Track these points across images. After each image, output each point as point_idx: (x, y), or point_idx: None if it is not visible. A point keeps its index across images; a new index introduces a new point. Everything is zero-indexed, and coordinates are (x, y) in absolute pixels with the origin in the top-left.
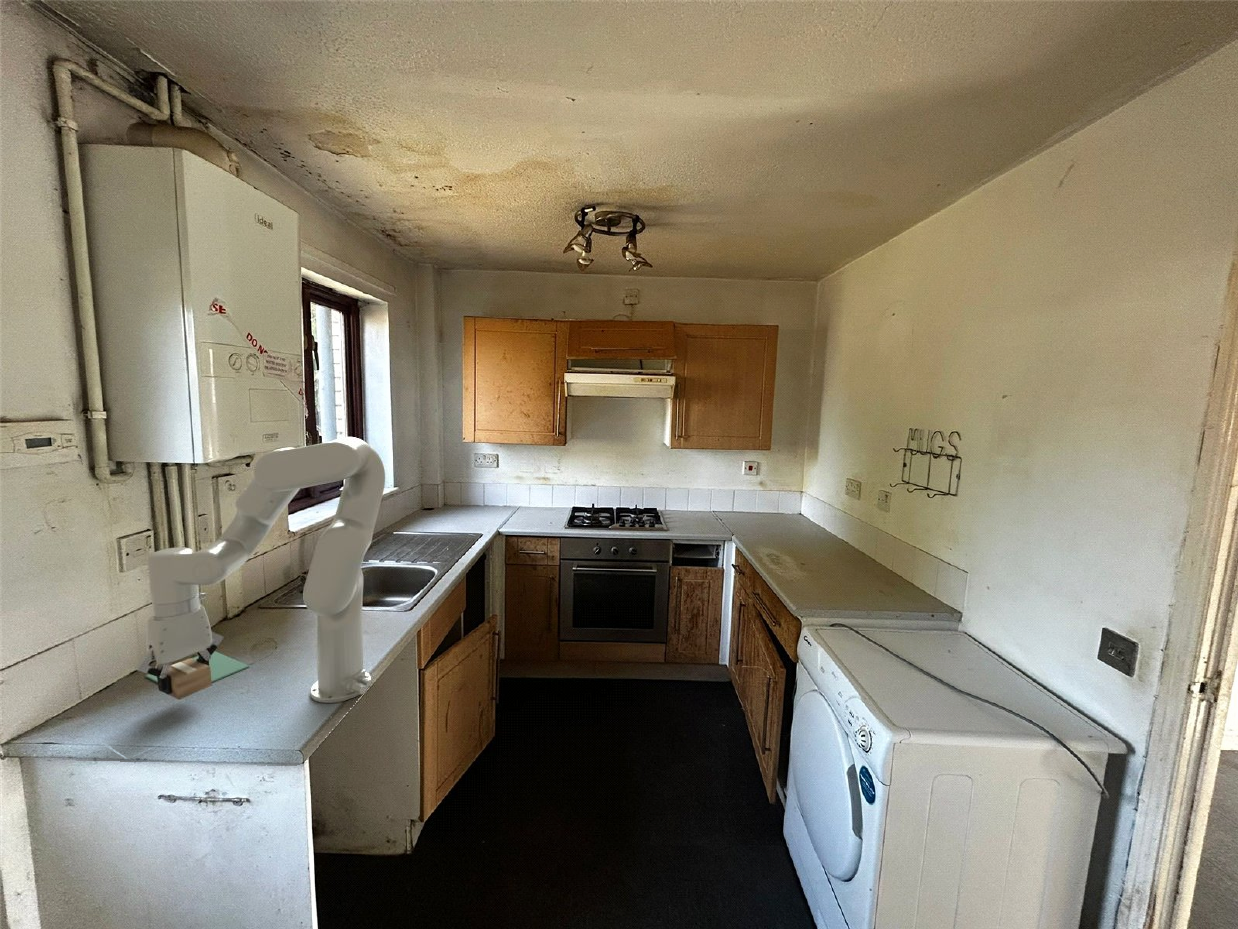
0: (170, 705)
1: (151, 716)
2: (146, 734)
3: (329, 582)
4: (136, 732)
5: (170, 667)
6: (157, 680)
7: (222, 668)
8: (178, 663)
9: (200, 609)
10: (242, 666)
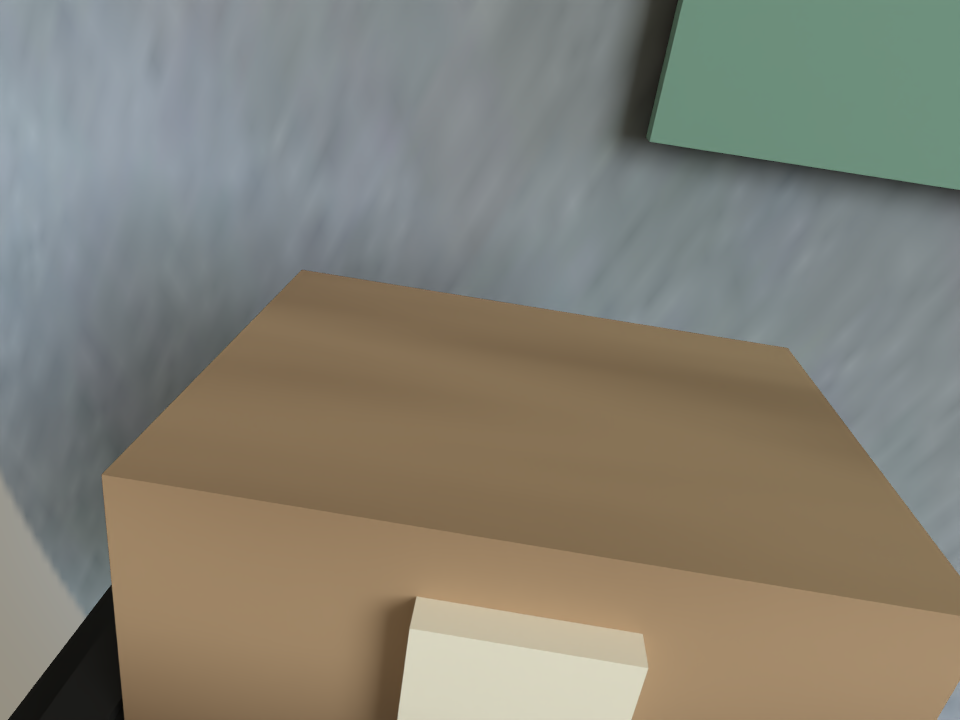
0: (458, 217)
1: (245, 249)
2: (98, 493)
3: None
4: (58, 393)
5: (383, 616)
6: (27, 699)
7: None
8: (568, 704)
9: None
10: None
